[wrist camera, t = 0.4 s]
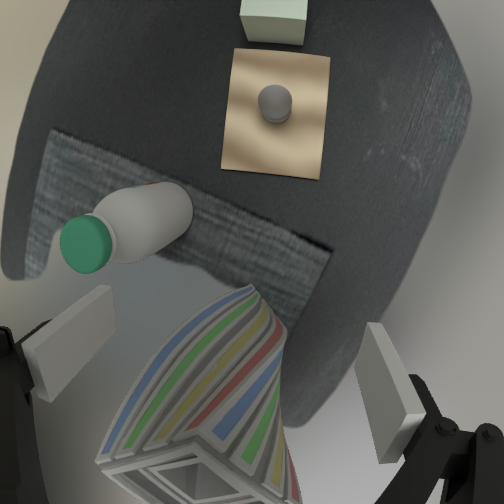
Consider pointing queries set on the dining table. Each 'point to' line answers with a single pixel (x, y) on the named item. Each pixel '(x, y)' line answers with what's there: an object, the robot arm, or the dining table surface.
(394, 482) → the robot arm
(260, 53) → the post base
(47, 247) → the dining table surface
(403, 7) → the dining table surface
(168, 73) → the dining table surface
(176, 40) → the dining table surface
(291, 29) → the pale green block
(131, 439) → the vase
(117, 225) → the milk bottle
